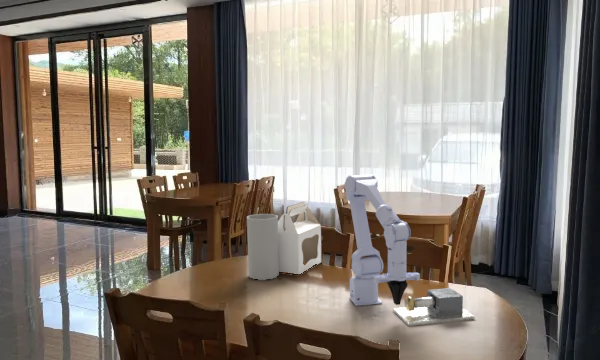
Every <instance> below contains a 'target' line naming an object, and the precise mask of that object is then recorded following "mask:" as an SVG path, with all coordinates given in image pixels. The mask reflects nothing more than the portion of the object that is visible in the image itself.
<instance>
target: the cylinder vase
mask: <svg viewBox="0 0 600 360" xmlns="http://www.w3.org/2000/svg"><path fill="white" fill-rule="evenodd" d="M278 217H279V216H278V215H276V214H273V213H259V214H249V215H247V216H246V228H247V229H246V232H247V235H246V237H247V238H246V239H247V262H248V263H247V265H248V267H247V268H248V270H247V272H248V278H249V279H251V278H253V279H252V280H254V279H258V280H257V281H267V280H266V279H271V280H274V279H277V278H278V277H279V274H280V273H279V254H278V221H279V218H278ZM277 276H278V277H277ZM273 278H274V279H273Z"/></svg>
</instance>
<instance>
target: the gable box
mask: <svg viewBox="0 0 600 360" xmlns="http://www.w3.org/2000/svg"><path fill="white" fill-rule="evenodd" d="M308 206H309V204H306V202H305V201H302V202H298V203H295V204H292V205H291V204H290V205H288V206H287V207H286V212H285V213H283V214H282V215H281V216H280V218H278V254H279V271H280V272H288V273H294V274H301V273H302V274H304V273H305V272H304V271H306V270H307V271H309V270H310V269H309V268H311V267H312V266H313V265H315V264H317V265H319V264H321V263H322V225H321V223H320V222H319V220H318V219H317V217H316V216H315V215H314V213H313V212H312V210H311V209H310V208H308ZM296 215H298V217H297V218H296V221H295V222H293V219H292V217H294V216H296ZM303 262H305V263H306V264H305V265H304V264H303ZM312 268H313V267H312ZM312 268H311V269H312ZM308 269H309V270H308ZM307 271H306V272H307ZM303 272H304V273H303ZM302 274H301V275H302Z"/></svg>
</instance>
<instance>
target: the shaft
mask: <svg viewBox="0 0 600 360" xmlns="http://www.w3.org/2000/svg"><path fill="white" fill-rule="evenodd" d="M433 306H436V297H427V296H426V297H416V298H414V297H413V296H411V295H410V296H409V295H408V296H406V297H405V299H404V307H406V309H407V311H414V309H415V308H422V307H433Z"/></svg>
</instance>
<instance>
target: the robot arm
mask: <svg viewBox="0 0 600 360" xmlns="http://www.w3.org/2000/svg"><path fill="white" fill-rule="evenodd" d="M378 183H379V182H378V180H377V178H376V176H375V175H374V174H372V173H369V174H360V175H359V174H358V175H357V174H356V175H352V174H351V175H347V177H346V178H345V181H344V185H343V186H344V190H345V196H346V200H347V201H348V202H349V207H350V211H351V217H352V223H353V224H352V225H353V229H354V236H355V240H356V247H357V248H356V250H355V251H354V252H353V253H352V254H351V271H352V273H353V275H354V276H351V277H350V279H349V298H348V299H350V300H351V302H353V304H354V305H355V306H356V307H358V306H368V305H369V306H370V305H379V304H383V302H382V300H381V299H380V298H379V284H380V283H386V284H387V285H388V288H389V290H390V293H391V296H392V300H393V303H394V305H395V306H399V305H401V302H402V297H403V295H404V293H405V291H406V289H407V288H408V284H409V283H408V282H407V281H420V280H421V274H420V273H419V272H407V245H408V244H407V241H408V240H410V238H411V236H412V234H411V231H412V230H411V227H410V226H409V224H408V222H407V221H404V220H401V218H399V216H398V215H397V214H396V212H395V210H394V208H393V207H392V206H391V205H390V204H386V202H385V200H384V198H383V197H382V195H381V193H380V191H379V189H378ZM367 200H368V201H369V203H370V204H371V205H372V207H373V208H374V209H375V210H376V211H375V216H376V218H377V220H378V222H379V223H380V225H381V226H382V228H383V230H384V231H383V235H384V240H385V245H386V247H387V273H383V271H384V261H383V259H382V257H381V254H380V251H379V250H377V249H376V248H375V247H373V244H372V243H373V242H372V239H371V231H370V226H369V221H368V216H367V215H368V214H367V209H366V201H367ZM381 273H382V274H381Z"/></svg>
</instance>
